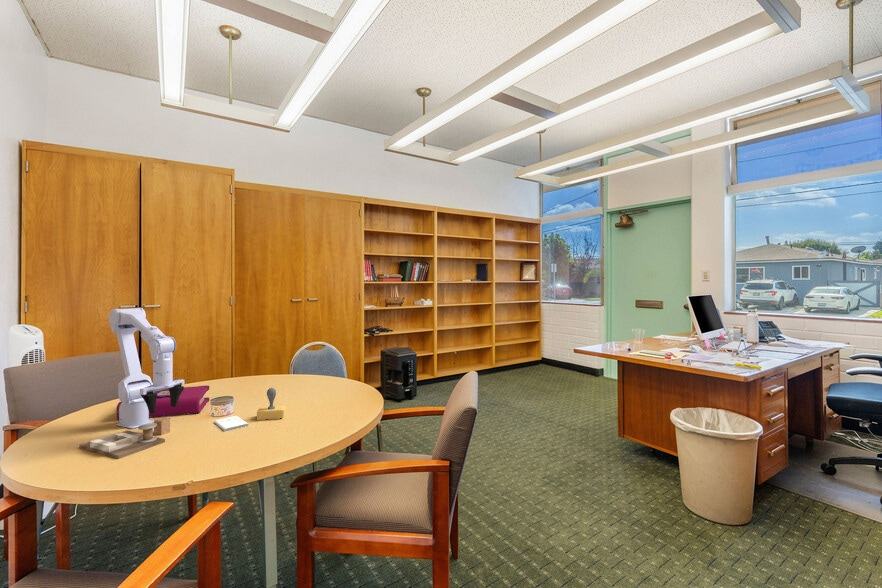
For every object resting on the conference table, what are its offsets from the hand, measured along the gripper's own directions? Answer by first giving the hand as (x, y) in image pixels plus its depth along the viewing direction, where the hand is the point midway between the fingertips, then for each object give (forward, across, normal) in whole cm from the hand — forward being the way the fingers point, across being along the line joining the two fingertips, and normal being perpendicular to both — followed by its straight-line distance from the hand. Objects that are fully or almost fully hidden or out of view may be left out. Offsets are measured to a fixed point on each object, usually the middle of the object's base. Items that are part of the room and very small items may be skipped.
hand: (163, 409), depth 143 cm
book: (+9, +18, +25) cm, 32 cm away
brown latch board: (+8, -12, +2) cm, 15 cm away
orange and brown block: (+8, 0, 0) cm, 8 cm away
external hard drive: (+9, +16, -15) cm, 23 cm away
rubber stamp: (+9, +28, -23) cm, 37 cm away
